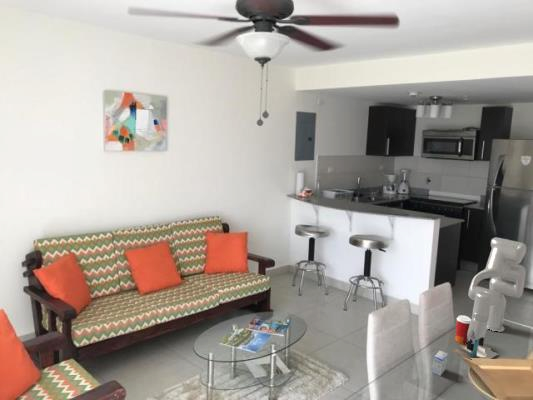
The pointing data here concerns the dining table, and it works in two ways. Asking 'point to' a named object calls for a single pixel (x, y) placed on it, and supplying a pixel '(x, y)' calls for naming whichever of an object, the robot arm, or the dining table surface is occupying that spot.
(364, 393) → the dining table surface
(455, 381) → the dining table surface
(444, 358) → the medicine box
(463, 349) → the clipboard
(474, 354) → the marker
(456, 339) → the paper cup
